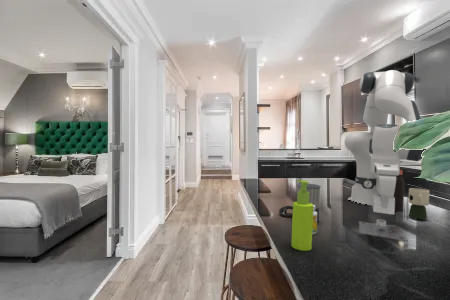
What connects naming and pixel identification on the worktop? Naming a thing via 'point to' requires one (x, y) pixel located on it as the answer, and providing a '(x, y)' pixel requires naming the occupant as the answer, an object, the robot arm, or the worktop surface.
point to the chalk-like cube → (378, 207)
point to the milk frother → (313, 198)
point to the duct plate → (385, 234)
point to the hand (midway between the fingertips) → (383, 205)
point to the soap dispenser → (302, 220)
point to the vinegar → (399, 192)
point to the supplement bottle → (314, 220)
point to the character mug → (418, 203)
